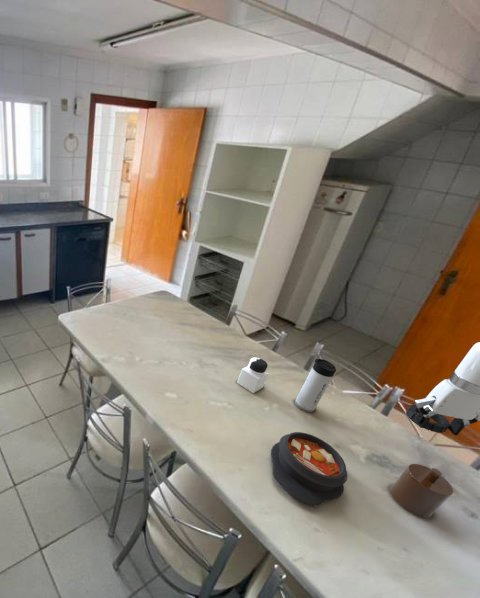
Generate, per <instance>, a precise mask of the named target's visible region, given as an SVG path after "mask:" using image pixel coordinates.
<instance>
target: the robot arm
mask: <svg viewBox="0 0 480 598" xmlns="http://www.w3.org/2000/svg"><path fill="white" fill-rule="evenodd" d="M414 404H416V406H417V408H418V410H419V411H420V413H418V416H417V417H416V419H415V422H416V423H417V424H418V425H419V426H418V425H417V424H416V425H417V426H418V427H419V428H420V429H425V428H424V427H425V426H426V424H427V423H428V422H429V421H431V418H430V417H431V416H433V415H435V414H441V415H443V416H444V417H451V418H453V419H452V420H451V421H450V426H449V428H448V429H447V430H449V432H450V433H451V434H452V435H454V436H457V437H458V436H459V434H460V433H461V432H462V431H463V430H464V428H465V427H469V426H470V425H472V424H475V423H478V421H480V341H479V342H476V343H474V344H473V345H472V347H471V348H470V349H469V351H468V352H467V353H466V354H465V356H464V358H463V359H462V360H461V362H460V363H459V364H458V365H457V367H456V369H455V370H454V371H453V373H452V374H451V375H450V377H449V378H447V379H445V378H444V379H442V381H440V382H439V383H438V384H437V385H436V386H434V388H433V389H432V390H431V391H430V392H429V393H428V395H426V396H425V398H421V399H416V400H414ZM430 409H431V410H432V411H430V412H426V411H427V410H430Z"/></svg>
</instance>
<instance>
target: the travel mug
mask: <svg viewBox="0 0 480 598" xmlns="http://www.w3.org/2000/svg"><path fill="white" fill-rule="evenodd" d="M336 372H337V369H336V366H335V365H334V364H333V363H331V362H330V361H328V360H326V359H323V358H315V359H314V364H313V366H311V369H310V371H309V372H308V375H307V377H306V379H305V381H304V383H303V384H302V386H301V389H300V390H299V393H298V395H297V397H296V398H295V400H294V404H295V405H296V407H297V408H298V409H300V410H301V411H303V412H307V413H313V412H315V410H316V408H317V406H318V404H319V403H320V401H321V399H322V397H323V395H324V394H325V392H326V390H327V388H328V386H329V385H330V383H331V381H332V379H333V378H334V375H335V373H336Z"/></svg>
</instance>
